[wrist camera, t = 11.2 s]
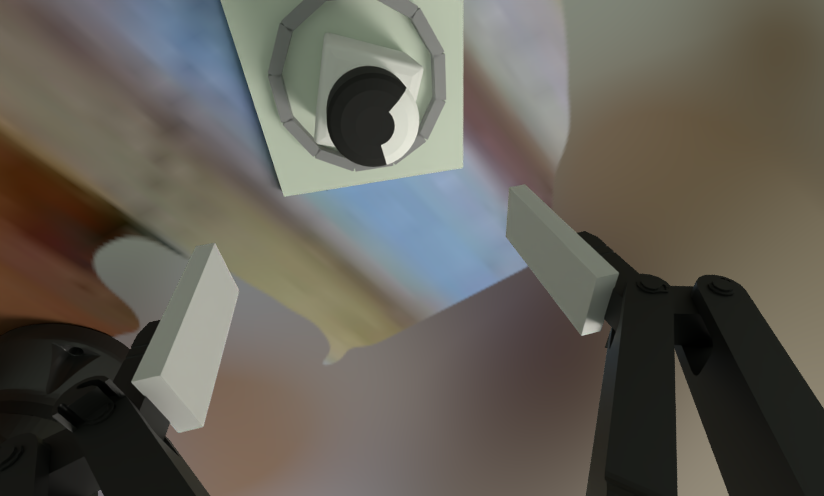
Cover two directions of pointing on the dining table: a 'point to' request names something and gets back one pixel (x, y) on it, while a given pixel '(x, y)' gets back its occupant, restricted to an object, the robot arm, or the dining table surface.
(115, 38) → the dining table surface
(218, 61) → the dining table surface
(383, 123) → the medicine bottle
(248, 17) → the socket board
